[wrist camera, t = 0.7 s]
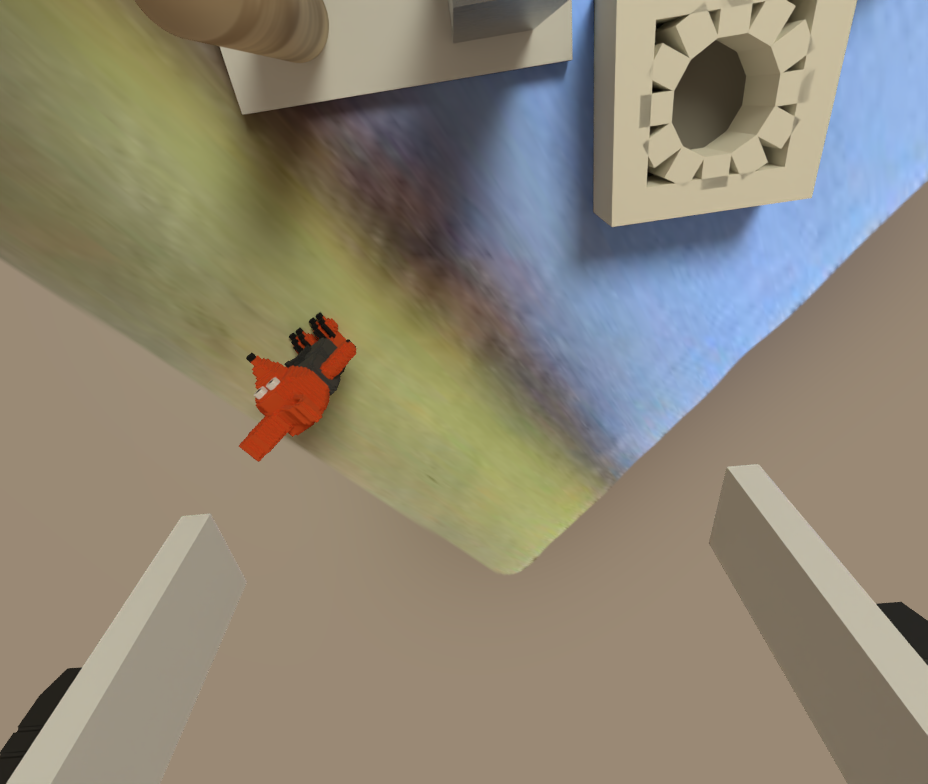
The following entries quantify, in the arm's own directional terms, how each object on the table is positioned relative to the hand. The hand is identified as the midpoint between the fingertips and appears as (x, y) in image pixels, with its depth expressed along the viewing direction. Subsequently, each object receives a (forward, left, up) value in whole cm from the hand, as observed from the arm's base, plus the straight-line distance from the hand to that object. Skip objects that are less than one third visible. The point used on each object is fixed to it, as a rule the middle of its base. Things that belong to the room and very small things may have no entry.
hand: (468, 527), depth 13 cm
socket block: (-7, +16, -26) cm, 31 cm away
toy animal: (+5, -12, -26) cm, 29 cm away
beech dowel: (-14, -7, -25) cm, 30 cm away
